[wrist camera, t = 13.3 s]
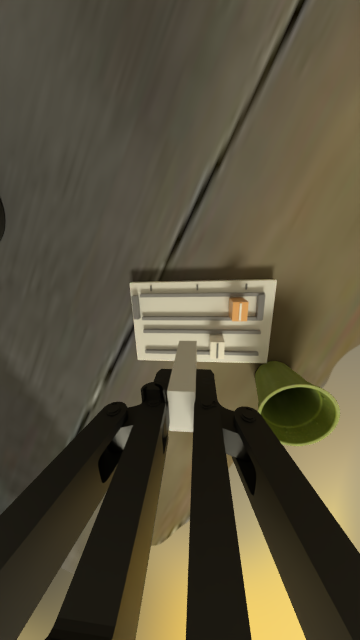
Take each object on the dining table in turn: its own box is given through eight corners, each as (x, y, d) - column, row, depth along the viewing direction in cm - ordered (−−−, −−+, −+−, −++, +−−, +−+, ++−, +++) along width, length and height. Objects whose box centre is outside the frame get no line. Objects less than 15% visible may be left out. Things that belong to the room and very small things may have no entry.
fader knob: (229, 297, 34) (233, 302, 30) (243, 297, 33) (249, 302, 29) (228, 314, 35) (232, 321, 31) (241, 314, 34) (247, 321, 30)
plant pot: (274, 338, 37) (304, 370, 26) (314, 375, 39) (357, 419, 28) (230, 375, 41) (241, 416, 30) (268, 407, 42) (292, 457, 31)
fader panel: (133, 281, 37) (120, 285, 31) (272, 279, 34) (287, 282, 28) (140, 355, 41) (130, 371, 36) (263, 358, 39) (274, 375, 33)
